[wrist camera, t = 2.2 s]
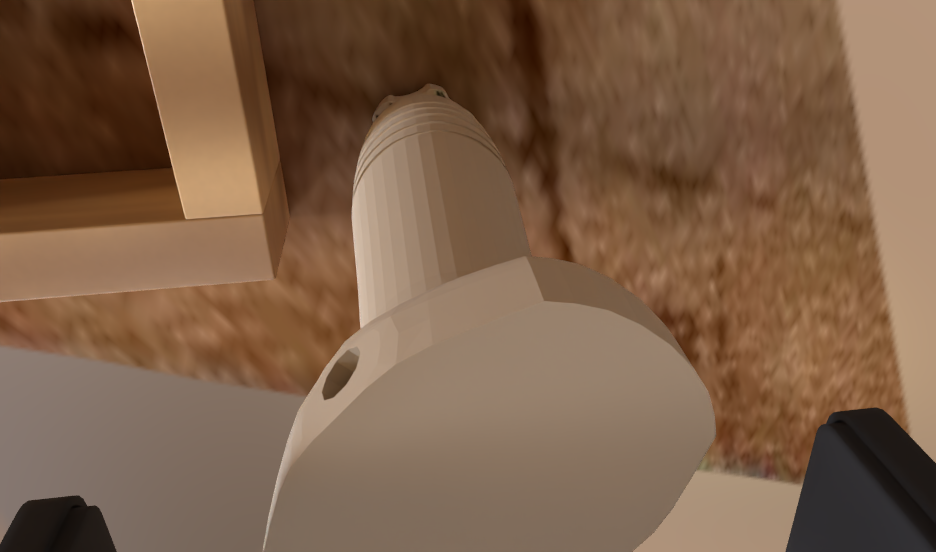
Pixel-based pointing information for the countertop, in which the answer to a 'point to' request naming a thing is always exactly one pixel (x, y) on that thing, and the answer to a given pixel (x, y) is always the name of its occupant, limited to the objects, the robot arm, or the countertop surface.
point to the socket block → (165, 176)
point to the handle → (481, 374)
